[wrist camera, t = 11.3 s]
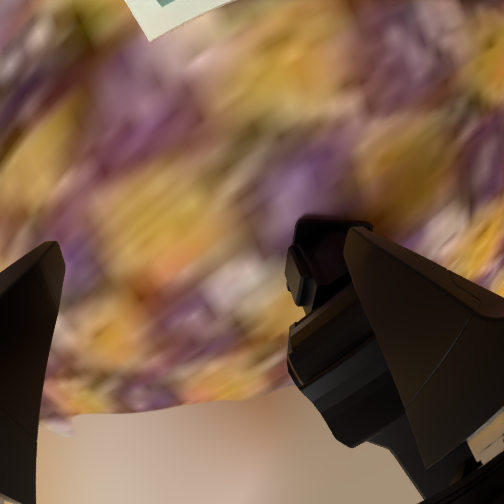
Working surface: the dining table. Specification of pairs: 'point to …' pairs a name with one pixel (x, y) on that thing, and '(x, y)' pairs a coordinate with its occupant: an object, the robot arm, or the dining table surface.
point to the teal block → (164, 2)
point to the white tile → (169, 14)
